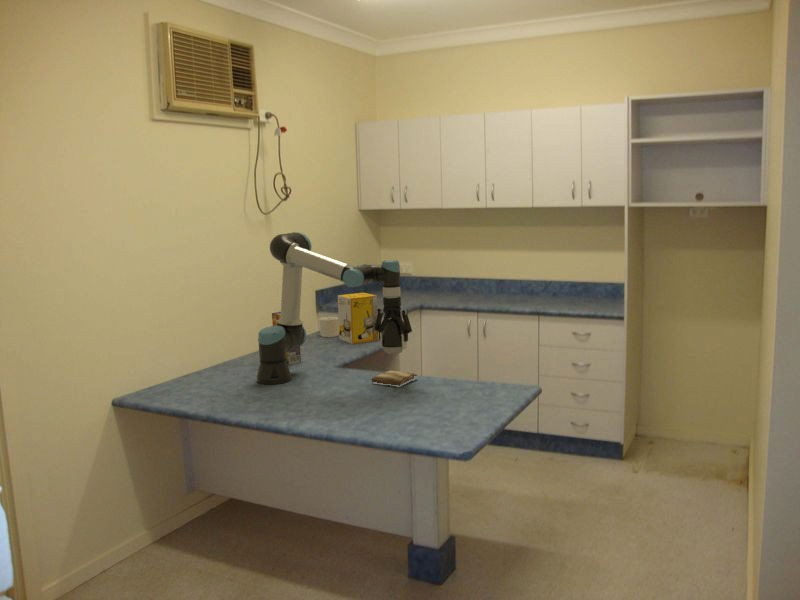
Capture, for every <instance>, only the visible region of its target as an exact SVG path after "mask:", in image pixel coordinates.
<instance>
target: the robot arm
mask: <svg viewBox="0 0 800 600" xmlns="http://www.w3.org/2000/svg"><path fill="white" fill-rule="evenodd" d="M269 252H270V255H272V258H274V259H275V260H277V261H278V262H279V263H280V264H281V265H282V279H281V280H282V283H281V300H280V301H281V304H280V312H281V317H280V319H279V320H277V326H273V325H270V326H266V327H264V328H262V329H260V330H259V331H258V336H257V337H258V338H257V342H258V353H259V367H258V371H257V375H256V382H257V383H258V384H261V385H262V384H263V385H277V384H278V385H279V384H284V383H287V382H290V381H291V380H292V373H291V372H290V369H289V364H287V361H286V353H287V352H289V351H292V350H295V349H298V348H299V347H300V348H301V347H302V346H303V345H305V342H306V339H307V331H306V329H305V327H304V326H303V324H304V323H303V321H302V320H301V301H302V300H301V297H302V280H303V279H302V278H303V268H305V269H308V270H311V271H313V272H316V273H318V274H322V275H324V276H327V277H329V278H332V279H334V280H337V281H340V282H343V284H344V285H345V286H347V287H348V288H358V287H360V286H363V285H367V284H370V283H382V296H383V297H382V301H383V303H382V304H383V307H379V308H377V311H378V315H377V319H376V324H375V328H374V329H375V330H377V331H378V338H379V340H380V348H383V347H382V335H383V330H384V327H385V324H386V322H387V321H388V320H389V319H391V318H393V319H395V320H396V321H397V323H398V324H399V326H400V328H401V330H402V332H403V334H402V349H403V351H404V350H407V348H408V345H407V344H408V341H409V334H410V333H412V332H413V329H412V326H411V321H410V318H409V316H408V309H402V308H401V306H402V305H401V304H402V297H401V269H400V268H401V267H400V261H399V260H398V259H385V260H382V261H381V264H359V265H357V266H354V265H350V264H348V263H345V262H344V261H340V260H337V259H335V258H332V257H329V256H326V255H324V254H320V253H318V252H315V251H312V242H311V240H310V238H309V237H308V236H307V235H306V234H305V233H303V232H296V231H293V232H287V233H281V234H278V235H275V236H274V237H273V238H272V239H271V241H270V244H269Z"/></svg>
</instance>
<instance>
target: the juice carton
mask: <svg viewBox="0 0 800 600" xmlns="http://www.w3.org/2000/svg"><path fill="white" fill-rule="evenodd" d="M280 317H281V311H277V312H272V313H271V319H272V320H271V321H272V326H277V320H279V319H280ZM301 359H302V358H301V346H300V347H299V348H298V349H295V350H292V351H289V352H287V353H286V361H287V365H292V364H296V363H301V361H302V360H301Z"/></svg>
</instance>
